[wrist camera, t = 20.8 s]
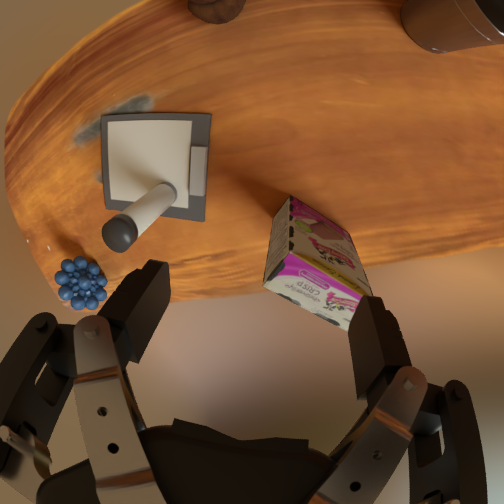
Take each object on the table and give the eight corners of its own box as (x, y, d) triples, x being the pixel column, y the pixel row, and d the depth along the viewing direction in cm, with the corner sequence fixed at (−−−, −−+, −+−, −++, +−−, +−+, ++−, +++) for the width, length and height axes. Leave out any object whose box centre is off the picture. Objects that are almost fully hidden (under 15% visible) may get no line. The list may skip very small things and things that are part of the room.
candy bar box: (351, 232, 39) (379, 305, 25) (331, 255, 41) (347, 334, 27) (289, 191, 37) (289, 251, 23) (271, 218, 40) (259, 289, 26)
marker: (154, 180, 38) (99, 219, 26) (177, 182, 37) (127, 223, 25) (156, 203, 40) (104, 249, 28) (178, 206, 39) (131, 255, 27)
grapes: (72, 250, 48) (38, 283, 38) (88, 238, 46) (50, 273, 36) (102, 292, 53) (74, 329, 43) (120, 284, 51) (91, 324, 40)
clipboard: (103, 115, 34) (97, 116, 32) (211, 114, 33) (208, 114, 31) (107, 207, 42) (102, 211, 40) (204, 220, 41) (201, 224, 40)
